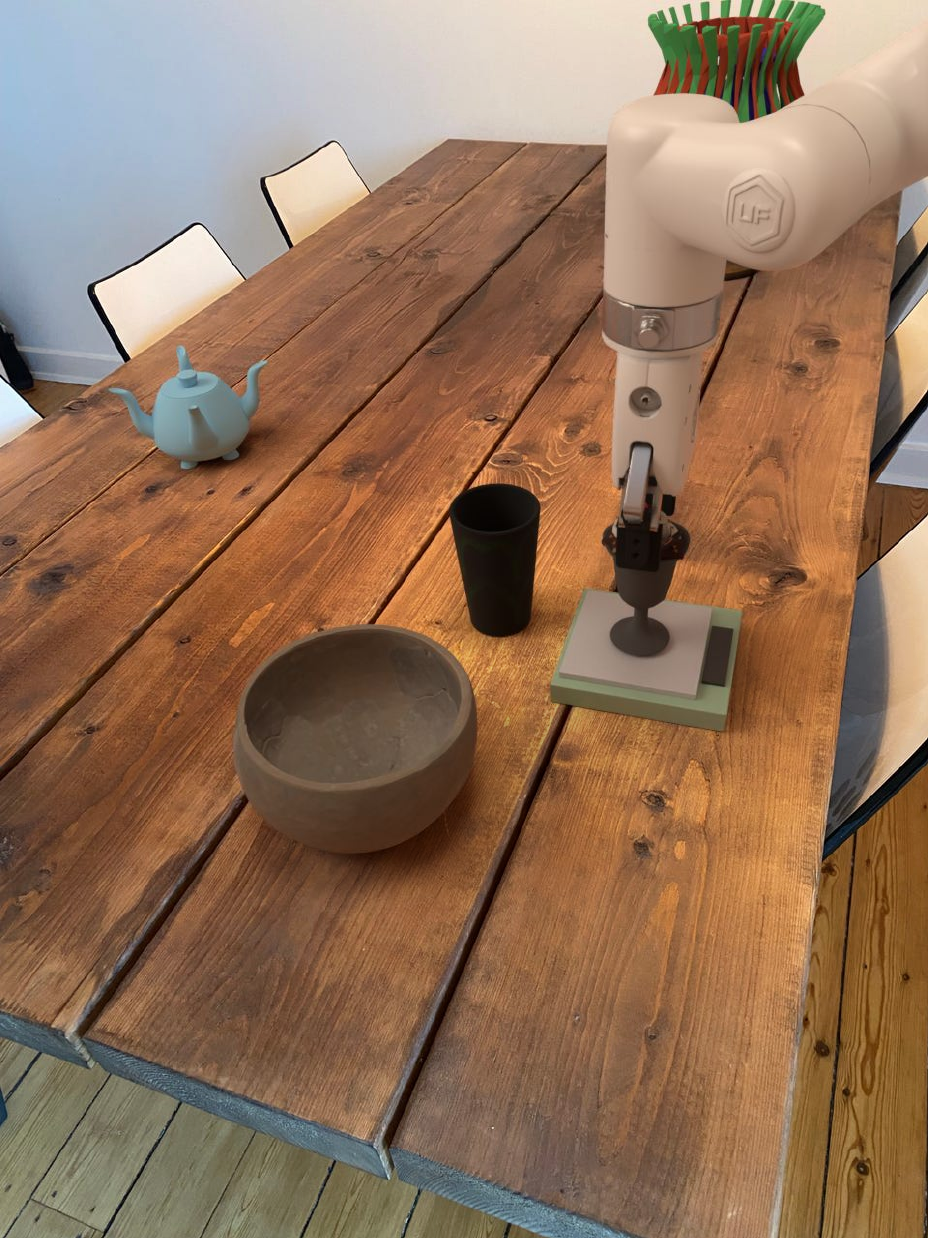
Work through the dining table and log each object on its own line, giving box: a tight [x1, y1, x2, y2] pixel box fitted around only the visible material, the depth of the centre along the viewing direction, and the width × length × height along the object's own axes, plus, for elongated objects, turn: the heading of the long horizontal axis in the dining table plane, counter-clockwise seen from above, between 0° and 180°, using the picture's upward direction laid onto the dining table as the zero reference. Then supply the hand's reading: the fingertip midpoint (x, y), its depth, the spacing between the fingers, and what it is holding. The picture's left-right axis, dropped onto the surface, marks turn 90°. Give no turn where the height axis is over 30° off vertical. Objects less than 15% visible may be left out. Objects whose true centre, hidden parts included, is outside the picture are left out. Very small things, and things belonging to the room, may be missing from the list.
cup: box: [448, 482, 541, 638], centre depth 83 cm, size 8×8×12 cm
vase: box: [647, 0, 826, 123], centre depth 160 cm, size 30×30×30 cm
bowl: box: [232, 623, 478, 855], centre depth 69 cm, size 17×18×10 cm
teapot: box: [108, 345, 268, 470], centre depth 111 cm, size 13×13×10 cm
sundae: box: [601, 503, 691, 656], centre depth 74 cm, size 7×7×15 cm
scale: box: [549, 587, 743, 733], centre depth 80 cm, size 14×13×3 cm
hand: (645, 537), depth 73 cm, fingers closed on sundae, 6 cm apart
